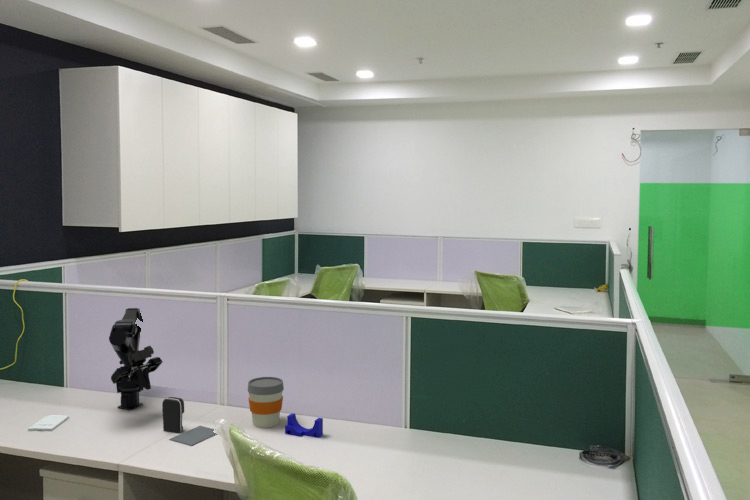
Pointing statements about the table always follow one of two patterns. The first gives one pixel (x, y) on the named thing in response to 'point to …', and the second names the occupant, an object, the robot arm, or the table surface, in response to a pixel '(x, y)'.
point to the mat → (194, 435)
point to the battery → (172, 414)
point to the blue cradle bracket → (298, 430)
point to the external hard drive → (49, 423)
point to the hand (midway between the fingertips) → (149, 388)
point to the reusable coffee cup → (265, 400)
